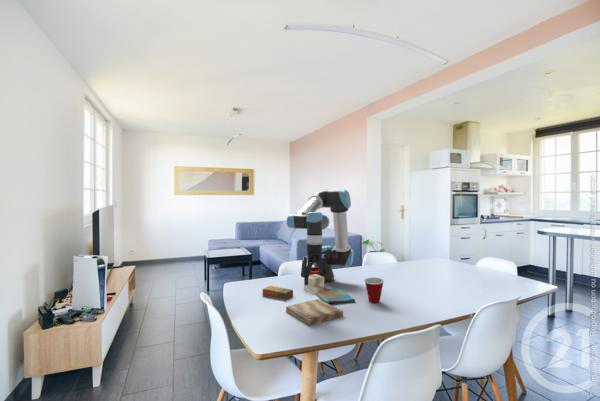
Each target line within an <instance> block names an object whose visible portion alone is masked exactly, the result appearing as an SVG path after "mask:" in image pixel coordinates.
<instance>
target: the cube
mask: <svg viewBox="0 0 600 401" xmlns="http://www.w3.org/2000/svg"><path fill="white" fill-rule="evenodd" d="M309 278H310V292H308V293H309V294H312V295H313V294H315V293H320V292H324V289H325V287H324V284H325V282H324V277H322V276H319V275H317V274H314V275H309ZM303 285H304V286H303V290H304V291H305V287H306V285H305V284H303ZM315 295H316V294H315Z"/></svg>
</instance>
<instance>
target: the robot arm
mask: <svg viewBox="0 0 600 401" xmlns="http://www.w3.org/2000/svg"><path fill="white" fill-rule="evenodd" d="M351 200H352V199H351V195H350V193H349V191H348V190H346V189H322V190H319V191H316V192H315V193H313V194H312V195H311V196H310V197H309V198H308V200H307V202H306V203H305V204H303V206H302V207H301V208H300V209H299V210H298V211H297V212H296V213H295V214H294V213H293V214H291V213H290V214H288V215H287V217H286V224H287V225H286V226H287V227H288V228H289V229H294V230H296V229H300V230H301V229H302V230H304V229H305V230H306V243H307V244H306V252H307V253H306V255H305V256H302V255H301V269H300V277H301V278H303V281H304V282H303V283H304V284H305V285H306V287H305V290H304V292H308V293H309V292H310V278H309V275H310V271H311V268H312V267H313V266H314V267H318V271H319V274H320V275H319V276H322V277H324V276H325V274H326V277H325V281H324V283H331V282H333V281H335V274H334V271H333V266H338V267H344V268H345V267H351V266H352V264H353V262H354V261H353V260H354V254H355V250H354V249H352V247H351V245H350V244H349V232H348V218H347V217H348V216H347V212H348V211H349V208H351V205H352V202H351ZM321 208H322V209H323V208H329V210H330V212H331V213H332V216H333V219H332V220H333V228H334V240H335V245H334V246H332V245H323V244H322V243H323V230H325V229H327V228H328V227H329V225H330V219H329V216H327V215H325V214H323V212H321V211H318V210H320V209H321ZM304 284H303V285H304Z"/></svg>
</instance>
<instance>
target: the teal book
mask: <svg viewBox="0 0 600 401" xmlns="http://www.w3.org/2000/svg"><path fill="white" fill-rule="evenodd" d="M315 295H316V296H317V297H318V299H319V300H321V301H323V302H326V303H328V304H330V305H332V306H333V305H342V304H355V303H356V299H355V298H353V297H351V296H350V295H349V294H347V293H346V292H345V291H344V290H342V289H340V288H339V287H335V288H324V292H320V293H315Z"/></svg>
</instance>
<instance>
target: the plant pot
mask: <svg viewBox="0 0 600 401" xmlns="http://www.w3.org/2000/svg"><path fill="white" fill-rule="evenodd" d="M314 274H317V275H320V274H319V271H318V267H315V266H312V268H311V271H310V275H314ZM325 277H326V274H325V276H324V281H325ZM325 287H326V284H325V283H324V288H325Z"/></svg>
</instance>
